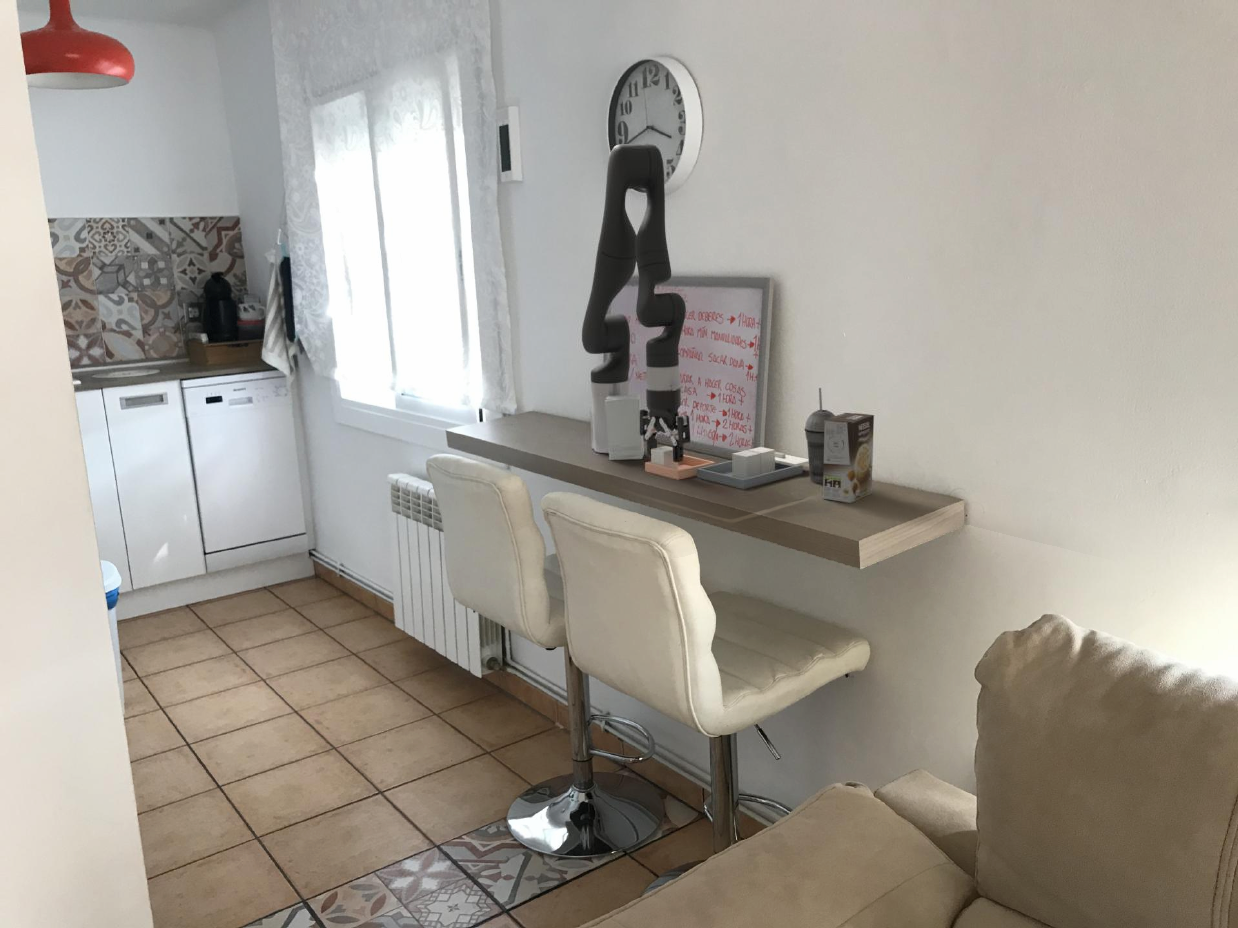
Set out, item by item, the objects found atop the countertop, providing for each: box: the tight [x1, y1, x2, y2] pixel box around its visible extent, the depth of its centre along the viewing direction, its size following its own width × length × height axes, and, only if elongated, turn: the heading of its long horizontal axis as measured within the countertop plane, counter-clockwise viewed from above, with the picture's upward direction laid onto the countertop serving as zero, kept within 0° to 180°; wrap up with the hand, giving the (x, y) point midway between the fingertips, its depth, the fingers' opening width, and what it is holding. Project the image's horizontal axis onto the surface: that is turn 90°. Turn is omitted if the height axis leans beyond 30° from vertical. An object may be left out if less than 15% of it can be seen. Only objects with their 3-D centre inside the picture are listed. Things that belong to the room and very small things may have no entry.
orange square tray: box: [644, 454, 716, 481], centre depth 219 cm, size 11×11×2 cm
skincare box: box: [605, 393, 645, 461], centre depth 234 cm, size 8×6×15 cm
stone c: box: [746, 446, 776, 475], centre depth 214 cm, size 4×4×5 cm
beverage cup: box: [804, 387, 836, 485], centre depth 204 cm, size 7×7×20 cm
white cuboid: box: [731, 450, 760, 479], centre depth 212 cm, size 4×4×5 cm
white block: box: [650, 445, 678, 470], centre depth 219 cm, size 4×4×5 cm
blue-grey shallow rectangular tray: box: [696, 451, 809, 490], centre depth 213 cm, size 15×21×4 cm
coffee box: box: [822, 412, 875, 504], centre depth 194 cm, size 9×6×16 cm
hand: (665, 458), depth 219 cm, fingers open, 8 cm apart
